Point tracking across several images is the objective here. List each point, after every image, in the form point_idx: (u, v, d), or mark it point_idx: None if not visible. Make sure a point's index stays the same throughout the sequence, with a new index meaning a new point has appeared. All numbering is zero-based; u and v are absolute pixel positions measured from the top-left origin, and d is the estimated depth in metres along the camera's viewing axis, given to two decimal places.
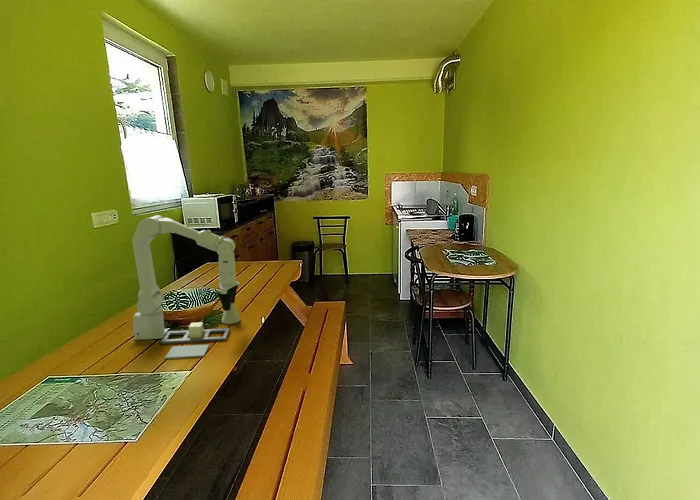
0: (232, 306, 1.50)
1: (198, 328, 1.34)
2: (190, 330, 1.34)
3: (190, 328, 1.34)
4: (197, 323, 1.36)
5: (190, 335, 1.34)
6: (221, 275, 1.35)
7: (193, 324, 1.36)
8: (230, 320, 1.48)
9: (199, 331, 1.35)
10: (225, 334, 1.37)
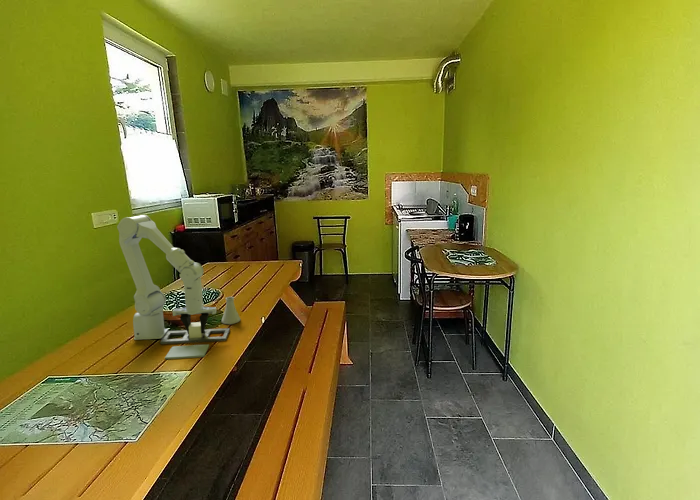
0: (232, 306, 1.50)
1: (198, 328, 1.34)
2: (190, 330, 1.34)
3: (190, 328, 1.34)
4: (197, 323, 1.36)
5: (190, 335, 1.34)
6: None
7: (193, 324, 1.36)
8: (230, 320, 1.48)
9: (199, 331, 1.34)
10: (225, 334, 1.37)
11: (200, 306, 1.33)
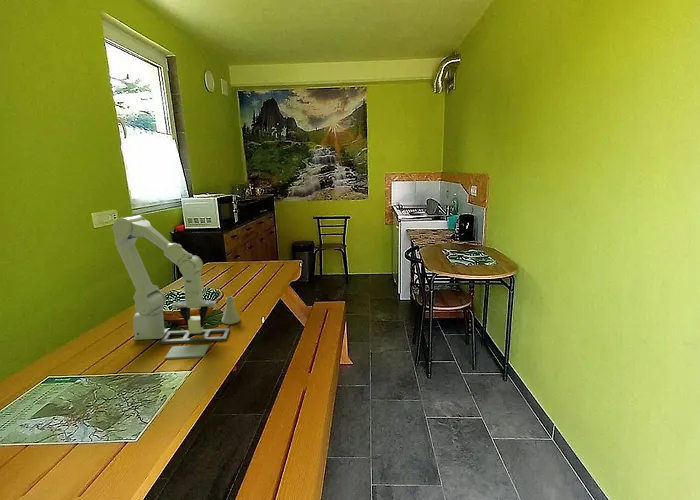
0: (232, 306, 1.50)
1: (197, 321, 1.34)
2: (189, 324, 1.33)
3: (189, 321, 1.33)
4: (197, 317, 1.36)
5: (189, 328, 1.34)
6: None
7: (192, 318, 1.35)
8: (230, 320, 1.48)
9: (198, 324, 1.34)
10: (225, 334, 1.37)
11: (200, 299, 1.33)
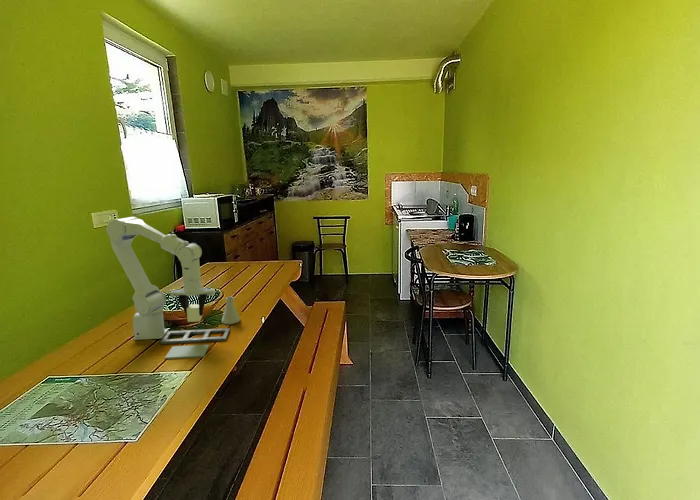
0: (232, 306, 1.50)
1: (196, 310, 1.32)
2: (188, 312, 1.32)
3: (188, 309, 1.32)
4: (195, 305, 1.34)
5: (188, 317, 1.32)
6: None
7: (191, 306, 1.34)
8: (230, 320, 1.48)
9: (197, 313, 1.32)
10: (225, 334, 1.37)
11: (198, 287, 1.31)
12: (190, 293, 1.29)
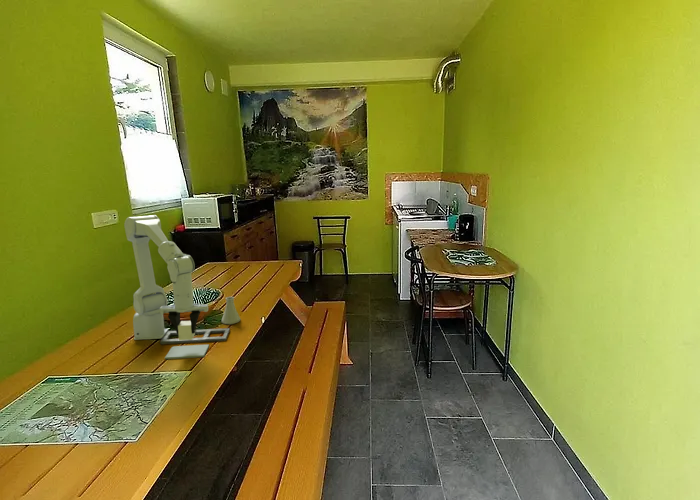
0: (232, 306, 1.50)
1: (188, 327, 1.22)
2: (179, 330, 1.22)
3: (179, 327, 1.21)
4: (188, 322, 1.24)
5: (180, 335, 1.22)
6: None
7: (183, 323, 1.24)
8: (230, 320, 1.48)
9: (189, 330, 1.22)
10: (225, 334, 1.37)
11: (190, 303, 1.21)
12: (181, 310, 1.19)
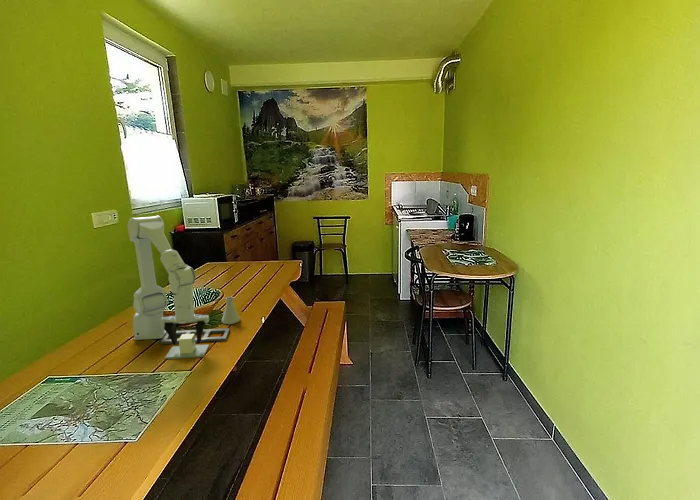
0: (232, 306, 1.50)
1: (189, 340, 1.23)
2: (180, 343, 1.22)
3: (180, 340, 1.22)
4: (188, 335, 1.25)
5: (180, 348, 1.23)
6: None
7: (184, 336, 1.24)
8: (230, 320, 1.48)
9: (190, 344, 1.23)
10: (225, 334, 1.37)
11: (191, 314, 1.21)
12: (182, 321, 1.19)
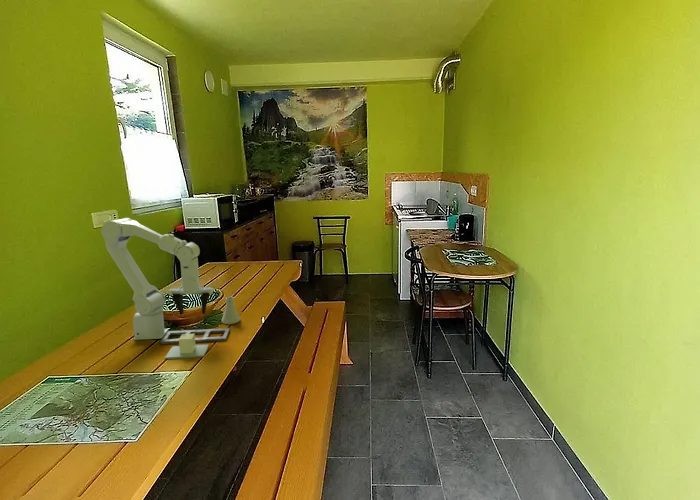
0: (232, 306, 1.50)
1: (189, 340, 1.23)
2: (180, 343, 1.22)
3: (180, 340, 1.22)
4: (188, 335, 1.25)
5: (180, 348, 1.23)
6: None
7: (184, 336, 1.24)
8: (230, 320, 1.48)
9: (190, 344, 1.23)
10: (225, 334, 1.37)
11: (197, 286, 1.33)
12: (188, 292, 1.31)
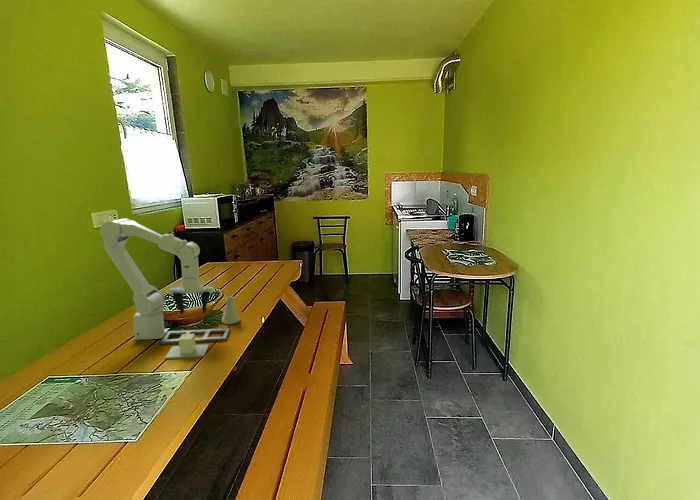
0: (232, 306, 1.50)
1: (189, 340, 1.23)
2: (180, 343, 1.22)
3: (180, 340, 1.22)
4: (188, 335, 1.25)
5: (180, 348, 1.23)
6: None
7: (184, 336, 1.24)
8: (230, 320, 1.48)
9: (190, 344, 1.23)
10: (225, 334, 1.37)
11: (197, 285, 1.34)
12: (189, 291, 1.32)
